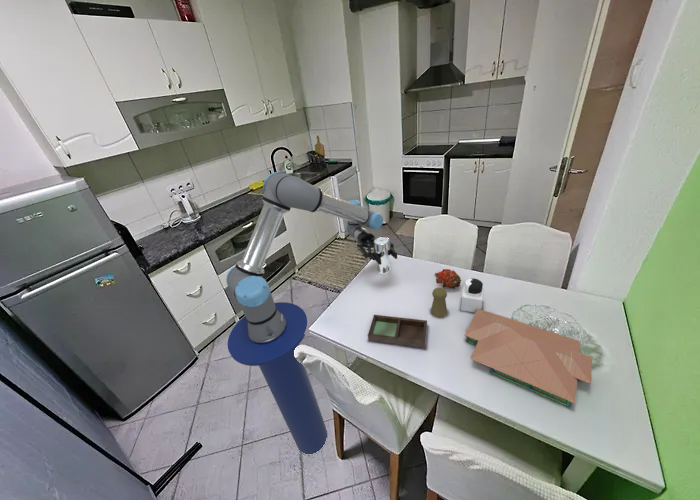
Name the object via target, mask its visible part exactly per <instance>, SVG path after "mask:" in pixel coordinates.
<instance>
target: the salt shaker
mask: <svg viewBox="0 0 700 500" xmlns="http://www.w3.org/2000/svg"><path fill="white" fill-rule="evenodd" d="M431 294H432V297H433V300H432V304H431V309H430V314H431V316H433V317H435V318H441V319H442V318H445V317H446V316H447V315H448V309H447V301H446V300H447V296H448V292H447V290H446V289H445V288H444V287H439V286H438V287H435V288H434V289H433V290H432V293H431Z"/></svg>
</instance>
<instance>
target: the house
mask: <svg viewBox="0 0 700 500" xmlns="http://www.w3.org/2000/svg"><path fill="white" fill-rule="evenodd" d="M464 337H466V342H468V343H470V344H473V345H475V347H474V350H473V351H472V355H471V357H470V360H472V361H475V362H476V363H479V364H481V365H483V366H486V367H488V368H491V373H492V374H494V375H496V376H498V377H500V378H503V379H505V380H506V381H507V380H508V381H510V382H512V383H514V384H516V385H518V386H521V387H523V388H525V389H527V390H530V391H533V392H535V393H537V394H539V395H541V396H544V397H546V398H549V399H551V400H553V401H556V402H558V403H560V404H562V405H565V406H567V407H569V405H570V403H573V404H576V397H577V389H578V388H577V387H578V380H580V381H582V382H584V383H588V384H592V367H593V357H592V356H590V355H587V354H584V353H581V341H580V340H578V339H576V338H575V339H574V338H572V337H569V336H566V335H562V334H559V333H556V332H552V331H550V330H547V329H543V328H540V327H537V326H534V325H531V324H529V323H525V322H522V321H518V320H515V319H512V318H509V317H506V316H503V315H500V314H497V313H494V312H490V311H487V310H484V309H478V308H477V310H476V312H475V313H474V314H473V317H472V318H471V321H470V323H469V324H468V327H467V329H466V331H465V333H464ZM471 340H472V342H471ZM473 341H474V342H473ZM475 342H476V343H475ZM494 371H495V372H494ZM497 372H498V373H497ZM499 373H500V374H501V375H499ZM502 375H504V376H502ZM505 376H507V377H505ZM508 378H509V379H508ZM511 378H512V379H513V380H511ZM514 380H516V381H515V382H514ZM518 381H519V382H520V383H518ZM521 383H523V384H521ZM524 384H526V386H525V385H524ZM527 386H528V387H527ZM532 388H534V390H533V389H532ZM536 389H537V391H535V390H536ZM539 390H540V391H541V392H539ZM542 391H543V392H544V394H542ZM546 393H547V395H545V394H546ZM549 395H551V396H549ZM553 396H554V397H555V398H559V399H558V400H557V399H555V398H553ZM560 399H561V400H562V401H565V402H564V403H563V402H561V401H560ZM566 403H567V404H566Z"/></svg>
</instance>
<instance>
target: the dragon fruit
mask: <svg viewBox="0 0 700 500" xmlns="http://www.w3.org/2000/svg"><path fill="white" fill-rule="evenodd" d="M434 276H435V278H436V281H435V282H436V284H437V285H438V284H442V288H443V289H445V288H446V289H455V288H459V287H461V282H462V279H461V276H460V275H459V274H458V273H457V272H456V271H455V270H454V269H452V270H451V269H449V268H446V269H445V268H443V269H442V270H440V271H438V272H435V273H434Z"/></svg>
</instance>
